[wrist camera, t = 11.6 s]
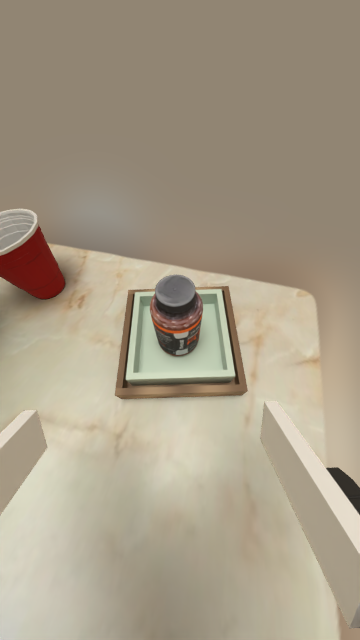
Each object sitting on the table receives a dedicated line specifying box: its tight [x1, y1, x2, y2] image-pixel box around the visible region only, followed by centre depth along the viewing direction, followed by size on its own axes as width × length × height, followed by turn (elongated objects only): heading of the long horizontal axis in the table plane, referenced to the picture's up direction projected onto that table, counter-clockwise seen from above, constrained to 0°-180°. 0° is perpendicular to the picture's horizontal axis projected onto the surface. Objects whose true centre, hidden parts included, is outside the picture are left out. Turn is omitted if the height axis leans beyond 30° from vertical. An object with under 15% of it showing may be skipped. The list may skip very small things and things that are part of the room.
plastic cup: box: [0, 209, 65, 299], centre depth 32 cm, size 11×11×12 cm
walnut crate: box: [115, 286, 248, 399], centre depth 29 cm, size 16×16×3 cm
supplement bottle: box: [150, 275, 203, 356], centre depth 24 cm, size 6×6×11 cm
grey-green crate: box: [126, 289, 235, 386], centre depth 28 cm, size 13×13×4 cm
